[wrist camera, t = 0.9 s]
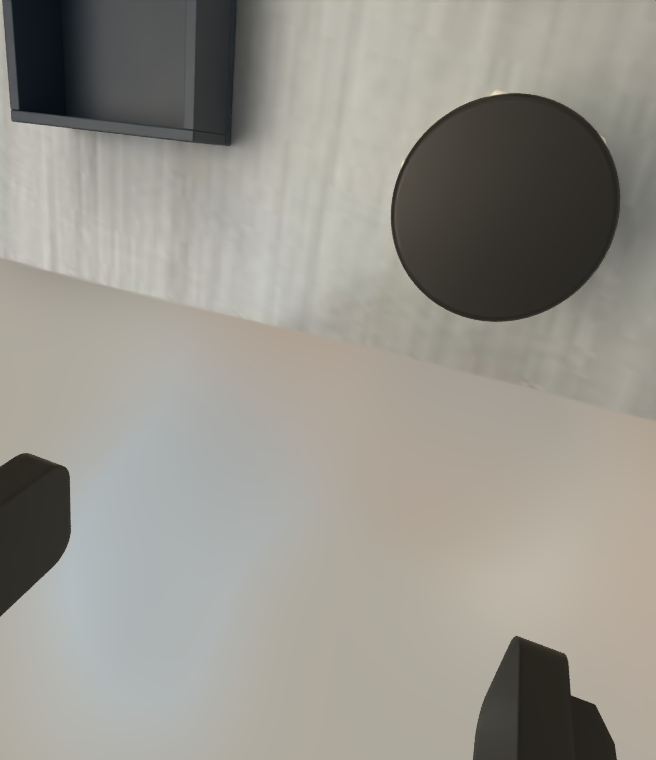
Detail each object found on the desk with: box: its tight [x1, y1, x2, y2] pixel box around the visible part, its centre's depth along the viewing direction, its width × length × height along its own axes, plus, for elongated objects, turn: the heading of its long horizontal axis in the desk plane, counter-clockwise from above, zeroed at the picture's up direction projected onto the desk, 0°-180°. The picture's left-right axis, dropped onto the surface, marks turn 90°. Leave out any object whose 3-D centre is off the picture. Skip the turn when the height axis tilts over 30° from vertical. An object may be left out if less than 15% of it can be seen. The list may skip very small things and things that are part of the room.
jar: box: [391, 90, 620, 322], centre depth 27 cm, size 9×8×12 cm
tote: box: [2, 0, 237, 146], centre depth 32 cm, size 12×11×5 cm
